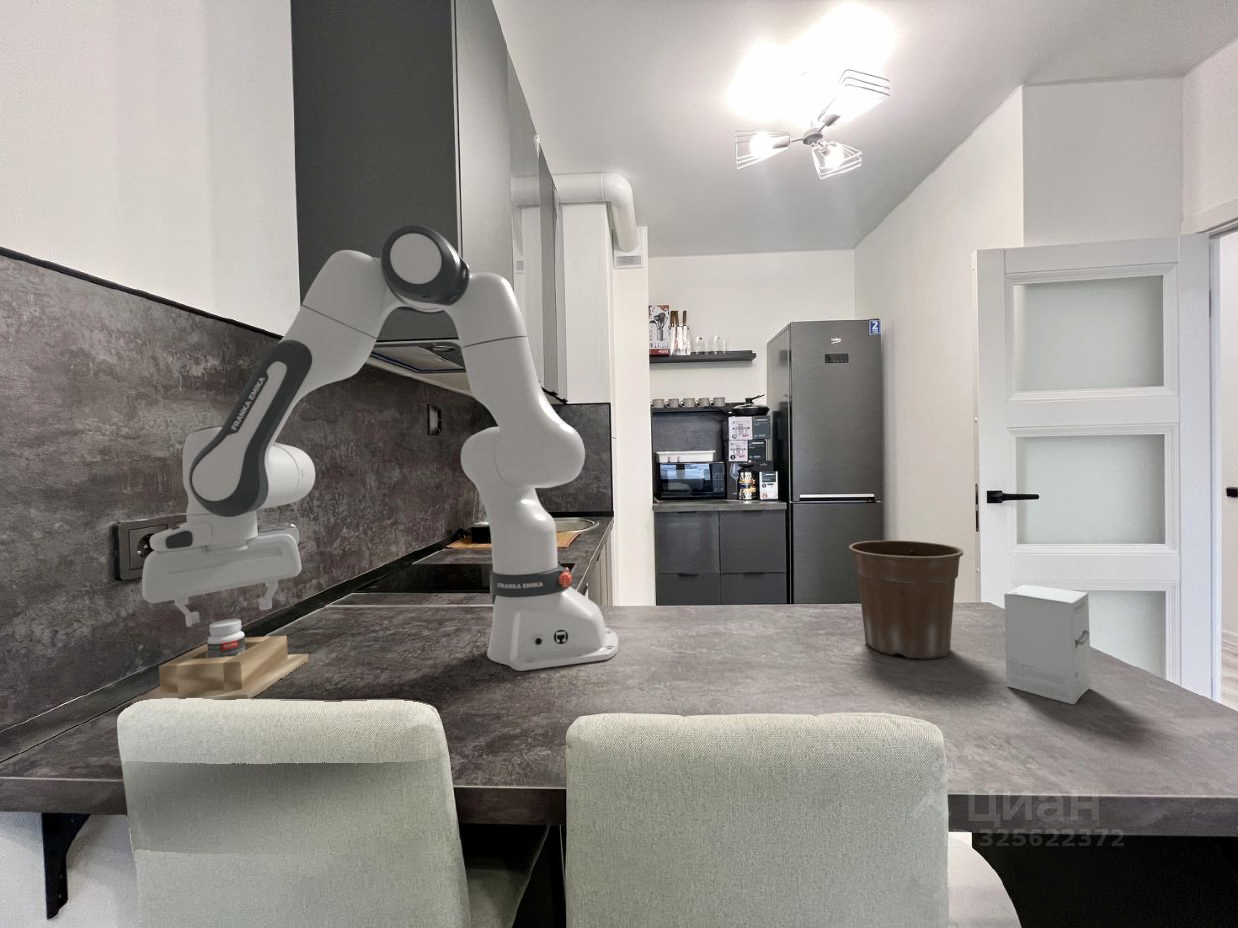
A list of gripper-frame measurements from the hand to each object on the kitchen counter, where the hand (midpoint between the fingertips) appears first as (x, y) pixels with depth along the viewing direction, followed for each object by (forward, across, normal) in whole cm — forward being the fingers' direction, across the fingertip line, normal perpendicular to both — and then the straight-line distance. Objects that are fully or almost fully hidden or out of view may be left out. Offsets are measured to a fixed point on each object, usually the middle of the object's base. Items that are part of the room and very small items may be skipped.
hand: (230, 616), depth 85 cm
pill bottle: (+9, +1, +1) cm, 9 cm away
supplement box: (+12, -71, +95) cm, 119 cm away
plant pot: (+12, -76, +76) cm, 108 cm away
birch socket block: (+10, +1, 0) cm, 10 cm away
